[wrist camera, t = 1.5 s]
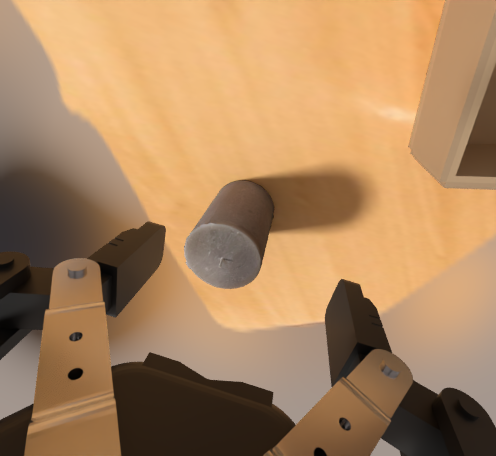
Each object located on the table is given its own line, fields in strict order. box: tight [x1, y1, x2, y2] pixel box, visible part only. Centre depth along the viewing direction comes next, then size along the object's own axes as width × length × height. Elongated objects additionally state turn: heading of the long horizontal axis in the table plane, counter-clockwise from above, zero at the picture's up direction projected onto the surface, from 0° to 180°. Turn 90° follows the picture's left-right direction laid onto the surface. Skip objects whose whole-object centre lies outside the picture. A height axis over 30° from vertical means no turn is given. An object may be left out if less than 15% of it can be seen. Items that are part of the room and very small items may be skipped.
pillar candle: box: [184, 181, 274, 289], centre depth 39 cm, size 10×10×15 cm
